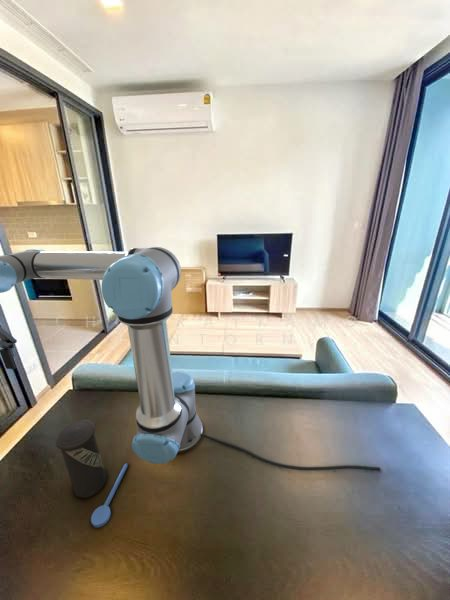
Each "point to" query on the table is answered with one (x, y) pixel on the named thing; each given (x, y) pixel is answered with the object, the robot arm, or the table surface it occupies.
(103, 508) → the spoon
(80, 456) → the container
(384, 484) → the table surface
